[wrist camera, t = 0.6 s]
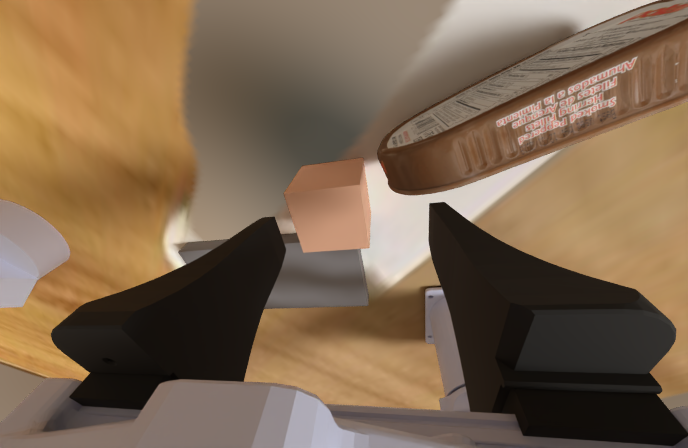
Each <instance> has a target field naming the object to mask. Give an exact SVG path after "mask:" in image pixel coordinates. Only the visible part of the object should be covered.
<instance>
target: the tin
mask: <svg viewBox="0 0 688 448" xmlns="http://www.w3.org/2000/svg"><path fill="white" fill-rule="evenodd" d="M687 101H688V0H659V1H655V2H652V3H650V4H647V5H644V6H641V7H638V8H636V9H633V10H630V11H628V12H625V13H623V14H621V15H618V16H616V17H613V18H611V19H608V20H606V21H604V22H601V23H599V24H597V25H594V26H592V27H590V28H587V29H585V30H583V31H581V32H578V33H576V34H574V35H572V36H570V37H568V38H566V39H564V40H562V41H559V42H557V43H555V44H553V45H551V46H549V47H547V48H545V49H543V50H541V51H539V52H537V53H535V54H533V55H531V56H529V57H527V58H525V59H523V60H521V61H519V62H517V63H515V64H513V65H511V66H509V67H507V68H505V69H503V70H501V71H499V72H497V73H495V74H493V75H491V76H489V77H487V78H485V79H483V80H481V81H479V82H477V83H475V84H473V85H471V86H469V87H467V88H465V89H463V90H461V91H460V92H458V93H456V94H454V95H452V96H450V97H448V98H446V99H444V100H442V101H440V102H438V103H437V104H435V105H433V106H431V107H429V108H427V109H425V110H424V111H422V112H420V113H418V114H417V115H415V116H413V117H411V118H410V119H408V120H407V121H405V122H403V123H402V124H400V125H399V126H397V127H396V128H395V129H393V130H392V131H391V132H390V133H389V134H387V135H386V136H385V138H384V139H383V140H382V142H381V144H380V147H379V149H378V152H377V156H378V159H379V162H380V164H381V166H382V168H383V170H384V172H385V174H386V176H387V178H388V185H389V187H390V188H391V189H392V190H393V191H394V192H396V193H399V194H404V195H424V194H432V193H437V192H442V191H447V190H450V189H454V188H458V187H461V186H464V185H467V184H470V183H473V182H476V181H478V180H481V179H484V178H486V177H489V176H492V175H494V174H497V173H499V172H502V171H505V170H507V169H510V168H512V167H515V166H518V165H520V164H523V163H526V162H529V161H531V160H534V159H536V158H539V157H541V156H544V155H547V154H550V153H552V152H555V151H557V150H560V149H562V148H565V147H568V146H570V145H573V144H576V143H579V142H581V141H584V140H587V139H590V138H592V137H594V136H597V135H599V134H602V133H605V132H608V131H610V130H613V129H616V128H619V127H622V126H624V125H627V124H629V123H632V122H634V121H637V120H640V119H642V118H645V117H648V116H650V115H653V114H656V113H659V112H661V111H664V110H667V109H670V108H672V107H675V106H678V105H680V104H683V103H685V102H687Z"/></svg>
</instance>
